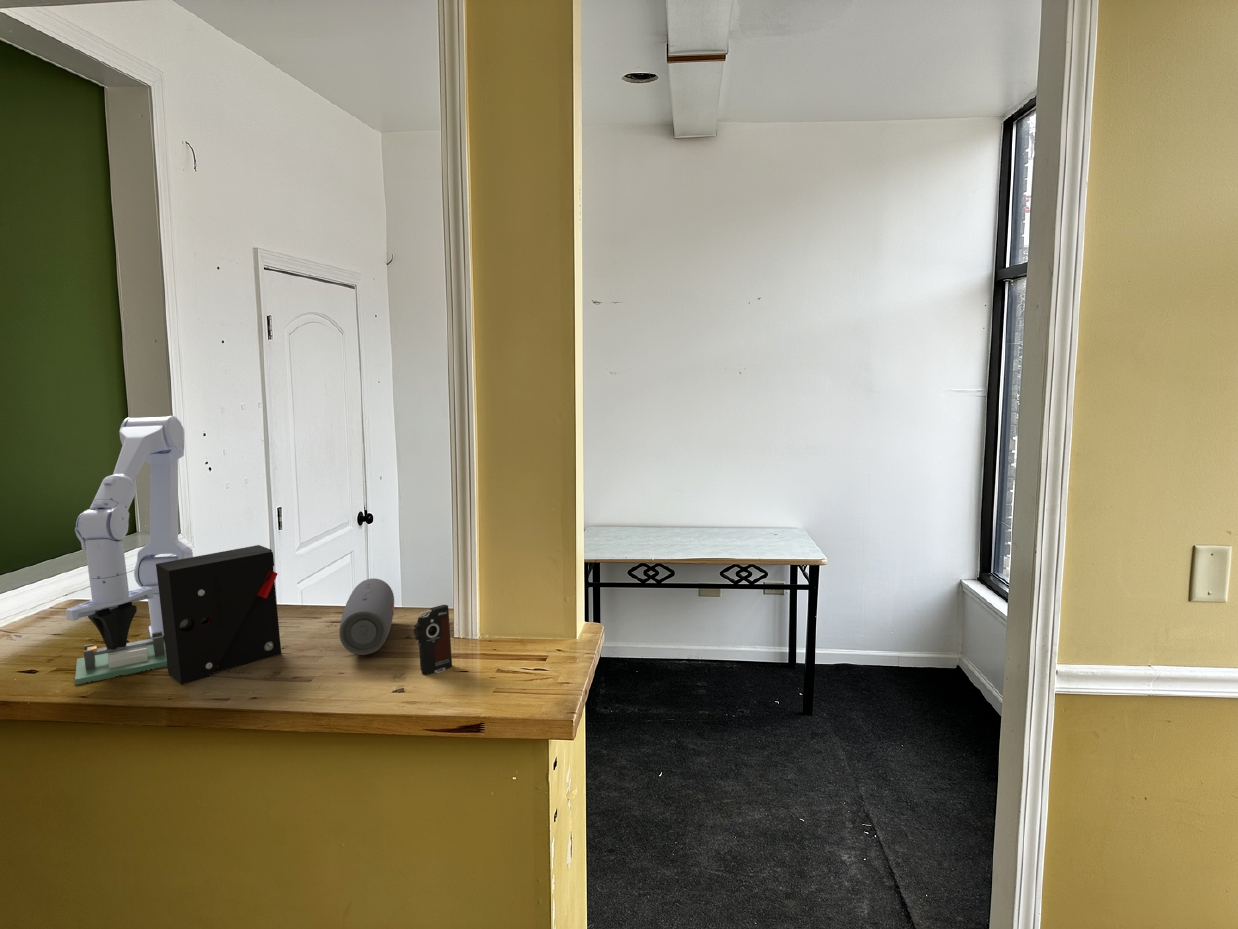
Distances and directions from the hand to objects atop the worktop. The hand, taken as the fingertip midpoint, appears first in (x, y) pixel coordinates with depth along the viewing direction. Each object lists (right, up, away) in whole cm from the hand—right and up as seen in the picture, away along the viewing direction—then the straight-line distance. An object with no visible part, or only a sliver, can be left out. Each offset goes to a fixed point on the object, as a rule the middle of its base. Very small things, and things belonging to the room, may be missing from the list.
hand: (116, 647), depth 147 cm
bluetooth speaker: (+43, -1, +9) cm, 44 cm away
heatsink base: (+1, -3, +1) cm, 4 cm away
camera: (+60, -3, -7) cm, 60 cm away
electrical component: (+20, -3, 0) cm, 20 cm away
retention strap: (+1, 0, +1) cm, 1 cm away
